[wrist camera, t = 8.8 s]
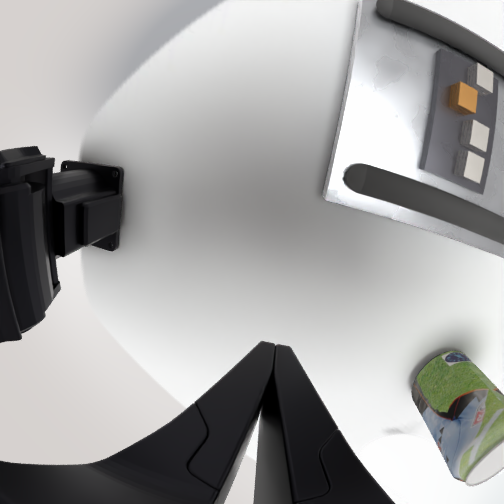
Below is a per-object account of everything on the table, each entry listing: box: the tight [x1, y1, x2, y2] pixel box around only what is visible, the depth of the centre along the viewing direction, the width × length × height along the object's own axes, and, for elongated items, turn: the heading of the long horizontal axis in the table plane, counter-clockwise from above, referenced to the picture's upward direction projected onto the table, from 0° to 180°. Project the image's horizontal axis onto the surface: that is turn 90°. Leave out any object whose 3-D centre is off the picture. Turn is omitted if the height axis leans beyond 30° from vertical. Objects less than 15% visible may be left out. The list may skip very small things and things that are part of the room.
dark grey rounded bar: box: [376, 0, 504, 76], centre depth 10 cm, size 13×2×2 cm, turn 79°
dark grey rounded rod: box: [347, 163, 504, 245], centre depth 13 cm, size 13×2×2 cm, turn 79°
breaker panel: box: [322, 0, 504, 258], centre depth 12 cm, size 14×14×4 cm
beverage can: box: [412, 351, 504, 486], centre depth 14 cm, size 6×7×12 cm
